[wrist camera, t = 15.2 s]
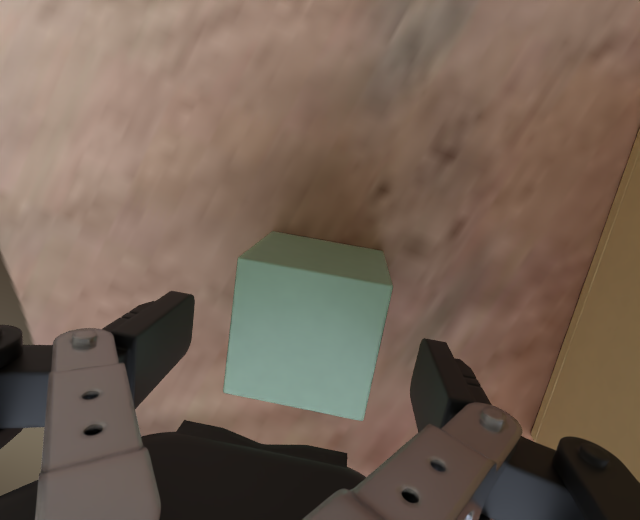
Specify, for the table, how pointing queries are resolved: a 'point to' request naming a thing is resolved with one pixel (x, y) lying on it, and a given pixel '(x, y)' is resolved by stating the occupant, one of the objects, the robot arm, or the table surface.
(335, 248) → the block
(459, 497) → the robot arm
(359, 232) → the table surface
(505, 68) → the table surface
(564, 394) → the carton
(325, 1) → the table surface
